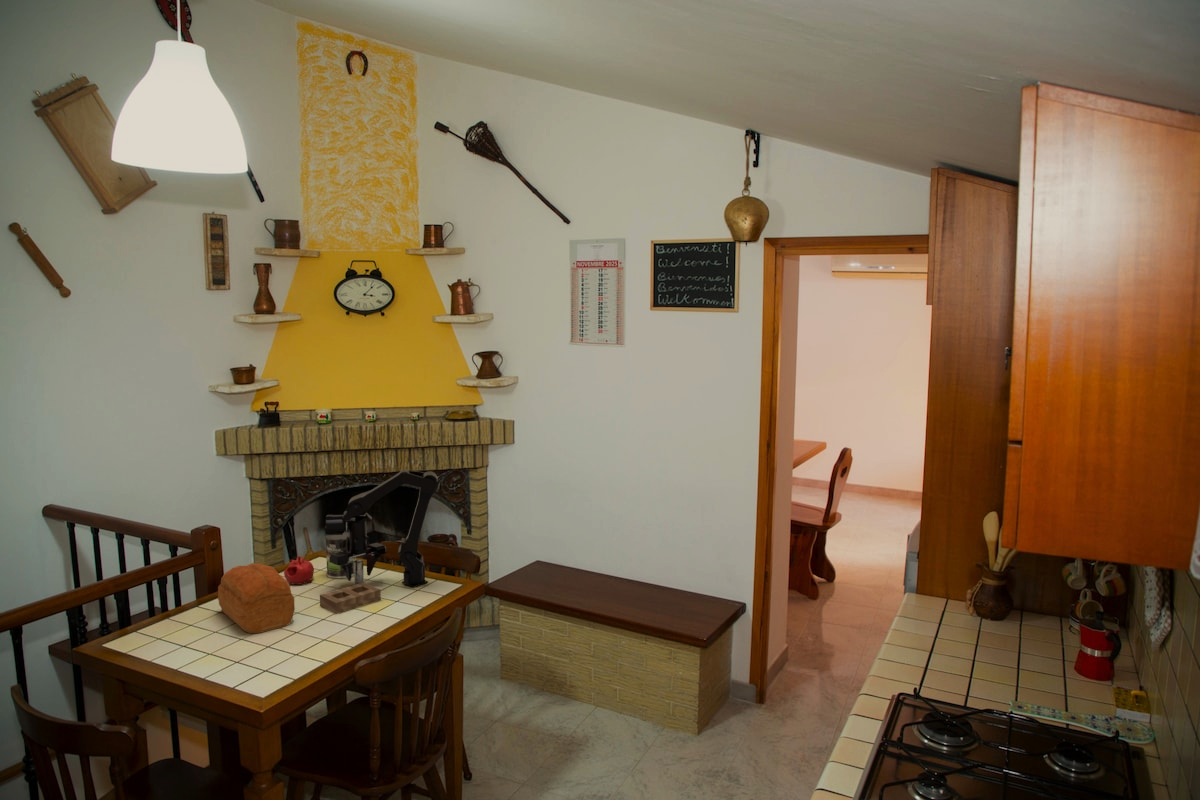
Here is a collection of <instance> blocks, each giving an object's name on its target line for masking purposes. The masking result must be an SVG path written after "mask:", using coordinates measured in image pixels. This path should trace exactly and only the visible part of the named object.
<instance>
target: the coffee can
mask: <svg viewBox="0 0 1200 800" xmlns="http://www.w3.org/2000/svg"><path fill="white" fill-rule="evenodd" d="M347 536H349V531H347V532H345V531H344V534H343V535H327V536H326V535H325V547H326V548H325V550H326V551H325V552H326V576H327V577H328V578H330V579H347V577H346V574H345V572H344V570H343V568H342V566H341V565H335V564H333V563H331V562H330V558H329V557H330V555H331V554H334V553H338V552H342V553H345V554H347V553H350V552H347V551H346V550H344V551H341V549H336V546H335V541H336V540H339V539H342V540H343V541H347ZM355 560H357V557H354V558H351V559H349V561H350V563H352V575H351V577H353V576H354V561H355Z"/></svg>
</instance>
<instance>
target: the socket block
mask: <svg viewBox="0 0 1200 800" xmlns="http://www.w3.org/2000/svg"><path fill="white" fill-rule="evenodd" d="M381 593H382V591H381V589H380V588H377V587H375V586H373V585H371V584H368V583H365V582H363V583H360V584H356V585H355V584H353V585H350V586H347V587H343V588H339V589H337V590H333V591H329V592H326V593H323V594H319V606H320V607H322V608H324V609H327V610H328V611H331V612H333V614H340V613H344V612H346V611H350V610H353V609H356V608H360V607H363V606H366V605H369V604H372V603H376V602H378V601H382V595H381Z"/></svg>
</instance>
